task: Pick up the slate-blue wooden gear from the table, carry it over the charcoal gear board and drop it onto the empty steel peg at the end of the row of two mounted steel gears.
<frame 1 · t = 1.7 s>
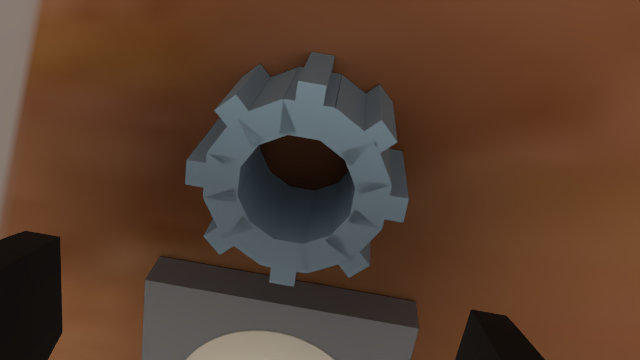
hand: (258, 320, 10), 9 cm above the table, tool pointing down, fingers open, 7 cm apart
slate gear: (308, 145, 19), on the table
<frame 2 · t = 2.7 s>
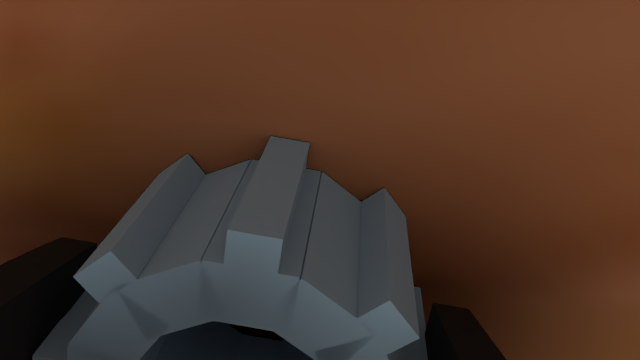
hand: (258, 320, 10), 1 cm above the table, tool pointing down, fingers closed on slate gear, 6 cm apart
slate gear: (270, 276, 12), on the table, touching gripper
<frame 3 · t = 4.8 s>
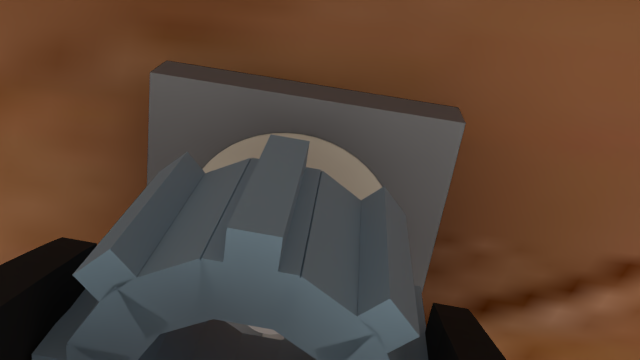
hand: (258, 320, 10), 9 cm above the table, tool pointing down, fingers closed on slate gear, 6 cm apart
slate gear: (270, 275, 12), point 8 cm above the table, touching gripper
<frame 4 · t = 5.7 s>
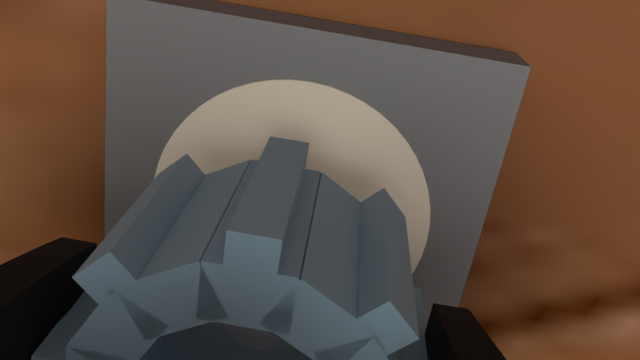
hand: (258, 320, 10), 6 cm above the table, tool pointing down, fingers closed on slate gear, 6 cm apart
slate gear: (270, 277, 12), point 4 cm above the table, touching gripper
when the fingers open (4 cm above the table, at t = 6.6 s): slate gear stays where it is, resting on gear board.
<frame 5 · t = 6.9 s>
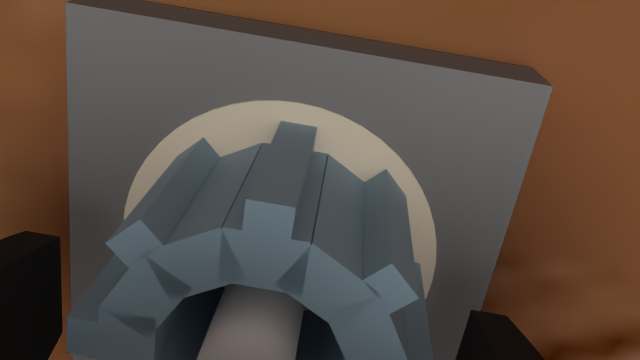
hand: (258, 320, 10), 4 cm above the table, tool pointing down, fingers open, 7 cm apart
slate gear: (279, 253, 13), point 2 cm above the table, touching gear board
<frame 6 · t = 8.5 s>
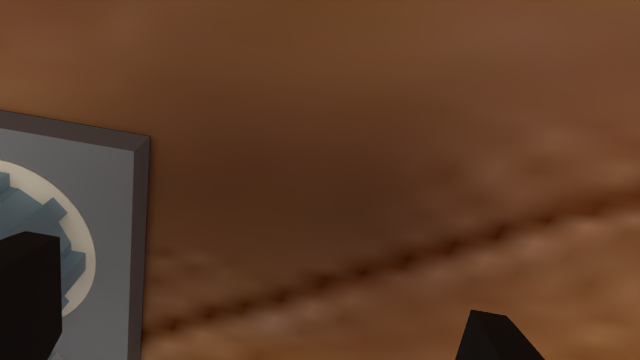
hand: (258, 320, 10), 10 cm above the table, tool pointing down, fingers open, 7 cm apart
slate gear: (4, 247, 21), point 2 cm above the table, touching gear board
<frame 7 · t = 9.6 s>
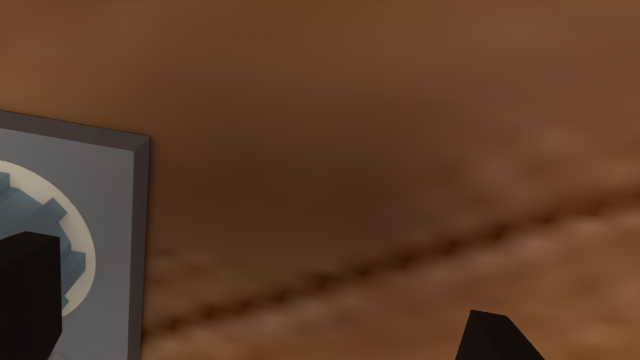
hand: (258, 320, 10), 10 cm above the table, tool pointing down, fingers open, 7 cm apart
slate gear: (3, 247, 21), point 2 cm above the table, touching gear board
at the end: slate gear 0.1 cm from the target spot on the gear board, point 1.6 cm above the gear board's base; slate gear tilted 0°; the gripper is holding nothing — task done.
